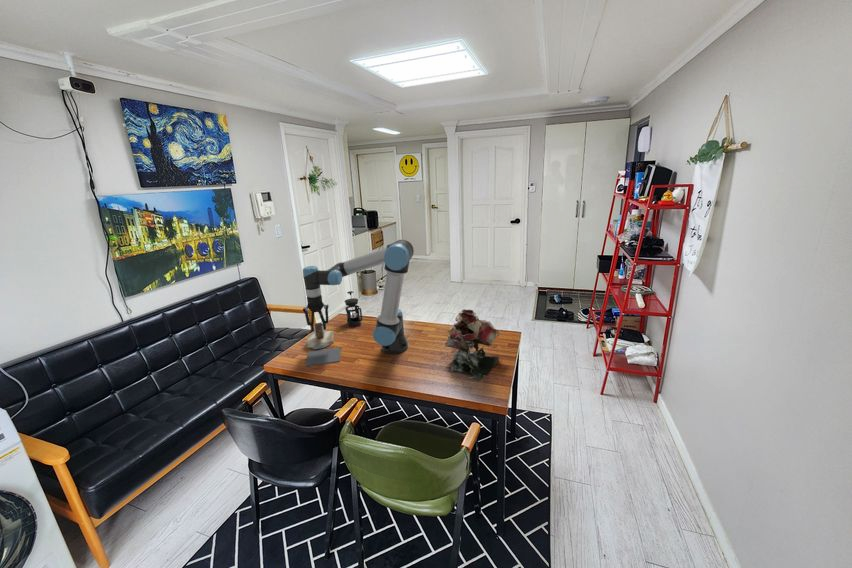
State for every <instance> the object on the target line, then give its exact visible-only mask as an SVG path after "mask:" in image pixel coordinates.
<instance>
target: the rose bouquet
mask: <svg viewBox="0 0 852 568" xmlns="http://www.w3.org/2000/svg"><path fill="white" fill-rule="evenodd" d="M455 321H456V322H455V323H454V324H453V325H452V326H451V327H449V330H447V331H446V332H447V333H449V334H447V339H446V341H445V343H444V347H446V348H451V349H455V350H457V352H455V353H454V354H453V359H452V361H451V362H449V363H448V366H451V365H453V366H451V367H450V372H457V371H458V372H460V373H463V374H466V375H468V374H469V373H468V371H466V369H468V368H471V369H470V374H472V375H473V376H468V378H469V379H472V380H474V381H477V382H479V381H482V380H484V379H485V378H486V377H487V376H488V375H489V374H490V372H491V371H492V368H493V367H495V366H496V365H497V363H498V360H499V359H500V357H499V355H498V356H497V355H495V356H494V355H486V352H485V351H484V348H483V347H481V348H479V347H480V346H479V344H480V345H483V346H487V347H493V343H494V341H496V337H498V335H499V334H500V332H499V330H497V329H496V327H494V326H495V325H493V324H492V323H491V321H489V320H486V319H483V320H482V319H480V318H479V316H478V315H477V313H476V312H475V311H474V310H473V309H470V308H469V309H466V308H465V309H464V308H462V310H461V311H459V312H458V313H457V315H456V316H455ZM473 349H475V351H472V350H473Z"/></svg>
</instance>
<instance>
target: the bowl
mask: <svg viewBox="0 0 852 568" xmlns="http://www.w3.org/2000/svg"><path fill="white" fill-rule="evenodd" d="M324 331H325V332H326V331H327V330H324ZM312 333H314V331H312ZM330 345H331V344H328V345H320V346H313V347H309V348H310V349H313V350H322V349H326V348H327V347H328V346H330Z"/></svg>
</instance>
